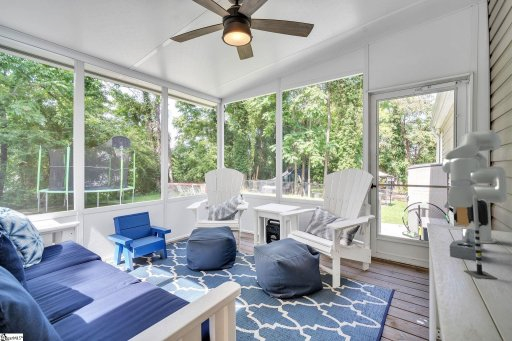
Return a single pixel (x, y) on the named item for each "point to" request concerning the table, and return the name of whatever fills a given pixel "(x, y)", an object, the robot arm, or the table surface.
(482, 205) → the miniature traffic light
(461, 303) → the table surface
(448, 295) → the table surface
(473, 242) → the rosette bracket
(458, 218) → the tan flared block
